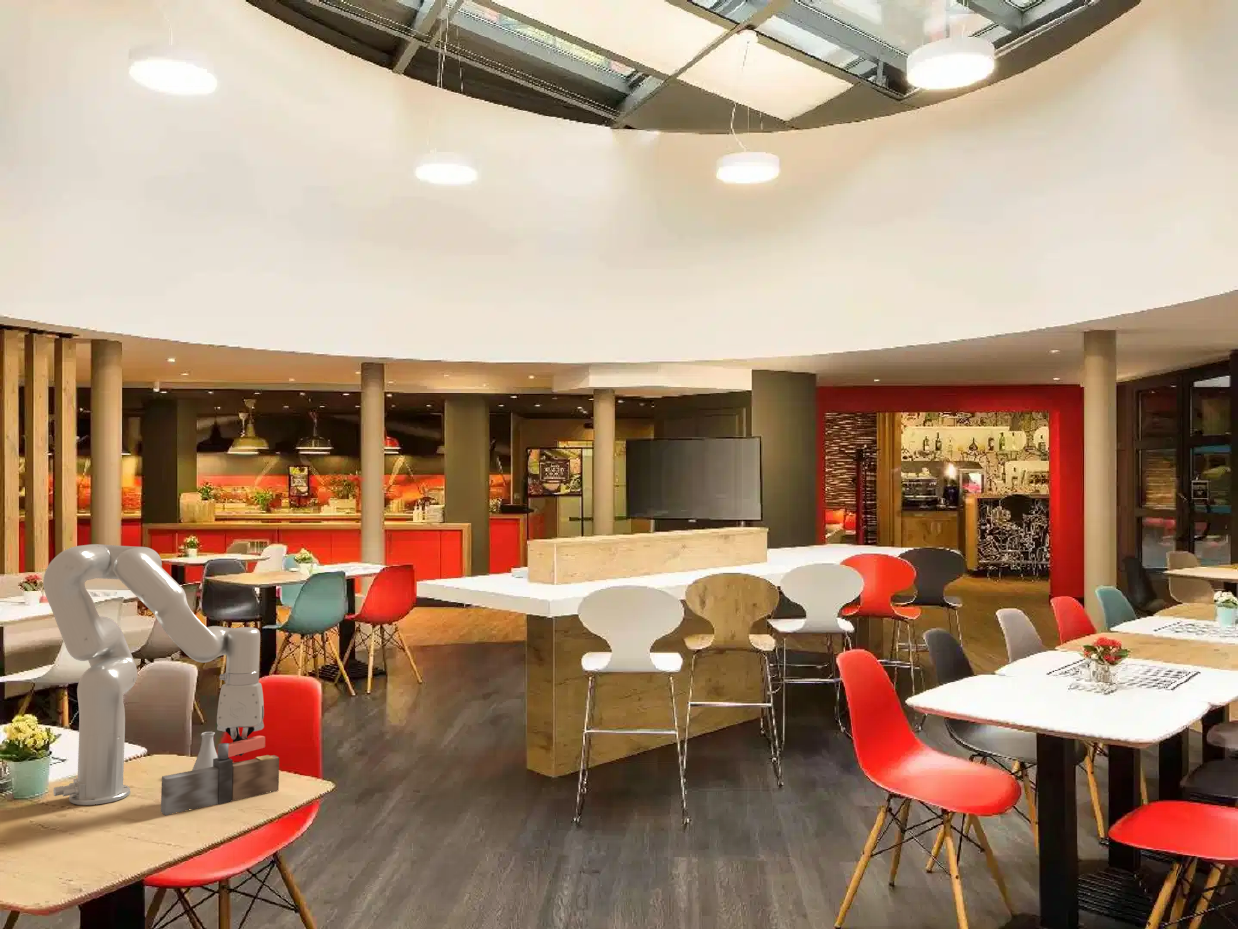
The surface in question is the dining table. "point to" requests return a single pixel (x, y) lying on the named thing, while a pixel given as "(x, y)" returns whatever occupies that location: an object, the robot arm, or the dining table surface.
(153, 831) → the dining table surface
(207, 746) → the flask
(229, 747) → the swing bar
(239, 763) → the two-tone wood plank
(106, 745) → the robot arm
